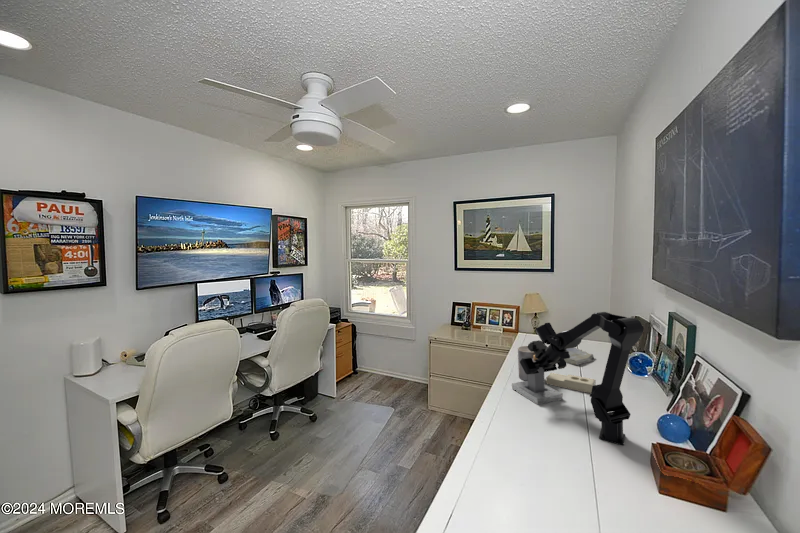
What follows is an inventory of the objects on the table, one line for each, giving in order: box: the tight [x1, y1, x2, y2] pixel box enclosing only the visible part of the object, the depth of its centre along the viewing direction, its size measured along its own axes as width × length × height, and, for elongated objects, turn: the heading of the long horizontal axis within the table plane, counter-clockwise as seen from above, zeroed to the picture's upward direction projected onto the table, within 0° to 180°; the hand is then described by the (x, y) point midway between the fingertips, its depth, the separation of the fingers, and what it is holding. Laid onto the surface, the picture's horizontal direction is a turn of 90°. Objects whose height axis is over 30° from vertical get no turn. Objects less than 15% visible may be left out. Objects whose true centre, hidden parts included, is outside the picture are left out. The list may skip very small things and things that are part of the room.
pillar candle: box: [517, 345, 536, 381], centre depth 155 cm, size 10×10×15 cm
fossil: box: [564, 347, 597, 366], centre depth 180 cm, size 20×5×17 cm
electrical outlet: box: [545, 372, 597, 394], centre depth 145 cm, size 7×4×18 cm
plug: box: [528, 355, 545, 393], centre depth 138 cm, size 4×4×15 cm
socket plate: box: [511, 380, 564, 406], centre depth 138 cm, size 16×12×2 cm
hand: (533, 372), depth 139 cm, fingers open, 5 cm apart
